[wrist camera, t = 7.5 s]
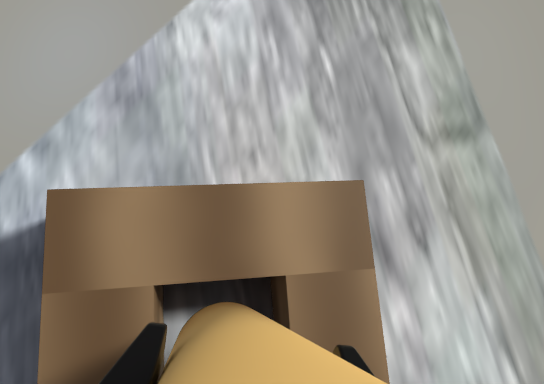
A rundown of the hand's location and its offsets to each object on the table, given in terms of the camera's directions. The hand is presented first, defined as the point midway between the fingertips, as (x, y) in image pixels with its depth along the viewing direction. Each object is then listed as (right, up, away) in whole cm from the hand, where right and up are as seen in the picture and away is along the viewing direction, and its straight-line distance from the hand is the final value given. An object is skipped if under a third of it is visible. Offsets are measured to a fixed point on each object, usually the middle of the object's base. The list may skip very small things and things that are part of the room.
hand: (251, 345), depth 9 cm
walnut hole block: (-2, -4, +10) cm, 11 cm away
